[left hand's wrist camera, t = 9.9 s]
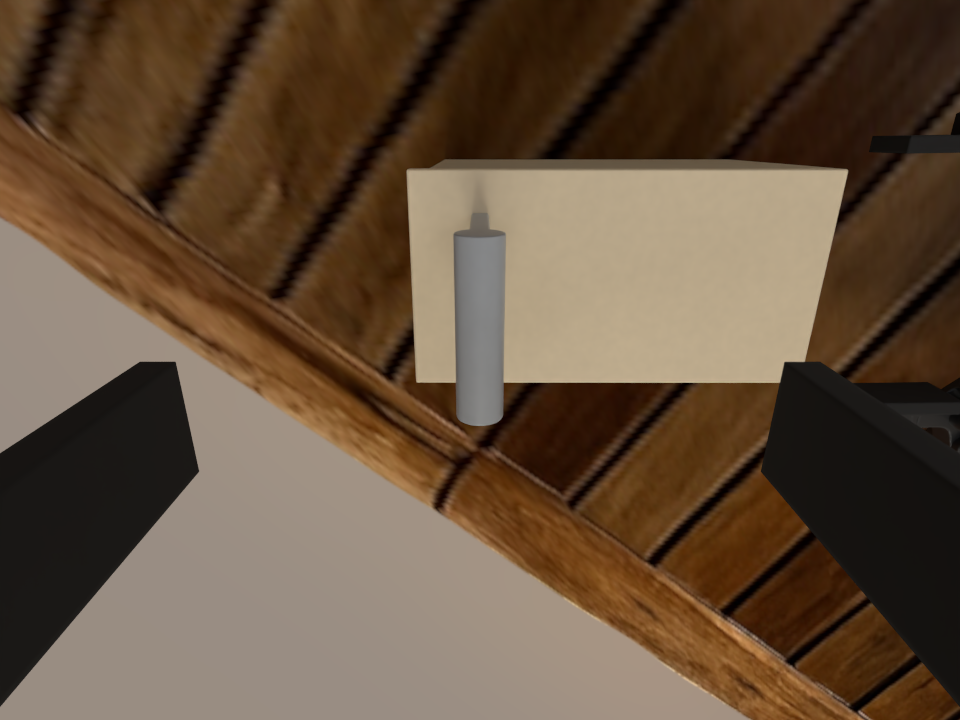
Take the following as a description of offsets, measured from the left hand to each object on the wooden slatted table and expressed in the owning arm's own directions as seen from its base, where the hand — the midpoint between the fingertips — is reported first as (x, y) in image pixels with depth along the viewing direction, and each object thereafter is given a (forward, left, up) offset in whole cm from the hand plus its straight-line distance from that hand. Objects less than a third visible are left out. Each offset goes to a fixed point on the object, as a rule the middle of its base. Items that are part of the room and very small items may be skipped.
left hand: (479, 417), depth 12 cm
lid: (-3, +5, -13) cm, 14 cm away
